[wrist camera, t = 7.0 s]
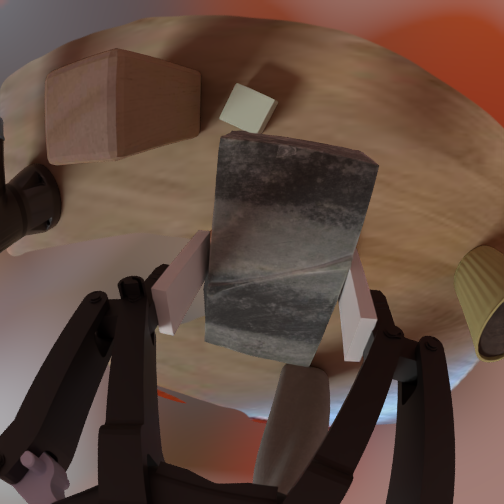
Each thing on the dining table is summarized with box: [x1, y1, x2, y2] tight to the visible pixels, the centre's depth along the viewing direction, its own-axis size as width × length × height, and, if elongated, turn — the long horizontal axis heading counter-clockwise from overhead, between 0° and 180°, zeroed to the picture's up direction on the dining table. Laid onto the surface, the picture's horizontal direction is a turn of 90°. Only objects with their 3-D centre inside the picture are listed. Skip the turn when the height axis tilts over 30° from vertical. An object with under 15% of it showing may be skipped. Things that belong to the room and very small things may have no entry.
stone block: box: [203, 131, 379, 367], centre depth 17 cm, size 9×14×5 cm, turn 172°
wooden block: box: [45, 48, 201, 165], centre depth 27 cm, size 10×10×20 cm
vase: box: [253, 364, 330, 494], centre depth 42 cm, size 12×12×30 cm
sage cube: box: [219, 83, 278, 134], centre depth 32 cm, size 5×5×5 cm
